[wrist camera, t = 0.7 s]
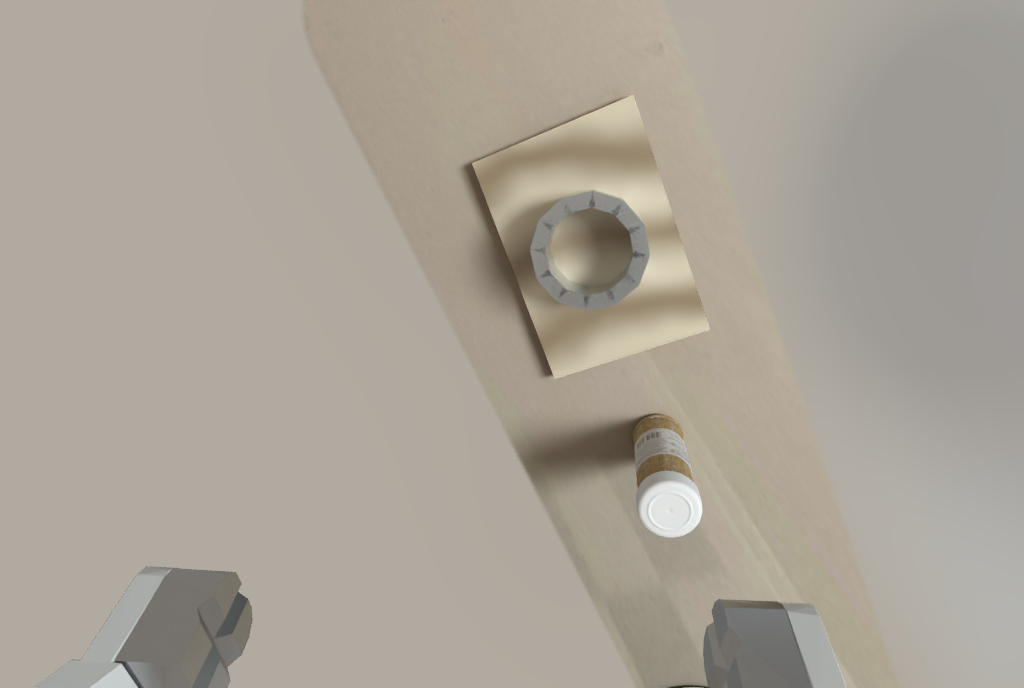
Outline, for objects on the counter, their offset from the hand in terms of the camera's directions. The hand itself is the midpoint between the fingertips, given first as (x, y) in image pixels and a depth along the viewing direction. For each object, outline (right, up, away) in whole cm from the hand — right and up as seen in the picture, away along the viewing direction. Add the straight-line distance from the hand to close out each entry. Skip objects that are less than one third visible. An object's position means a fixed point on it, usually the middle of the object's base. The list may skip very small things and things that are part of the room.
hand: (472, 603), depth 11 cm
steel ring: (+7, +13, +41) cm, 44 cm away
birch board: (+8, +13, +42) cm, 45 cm away
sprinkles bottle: (+14, -4, +46) cm, 48 cm away
